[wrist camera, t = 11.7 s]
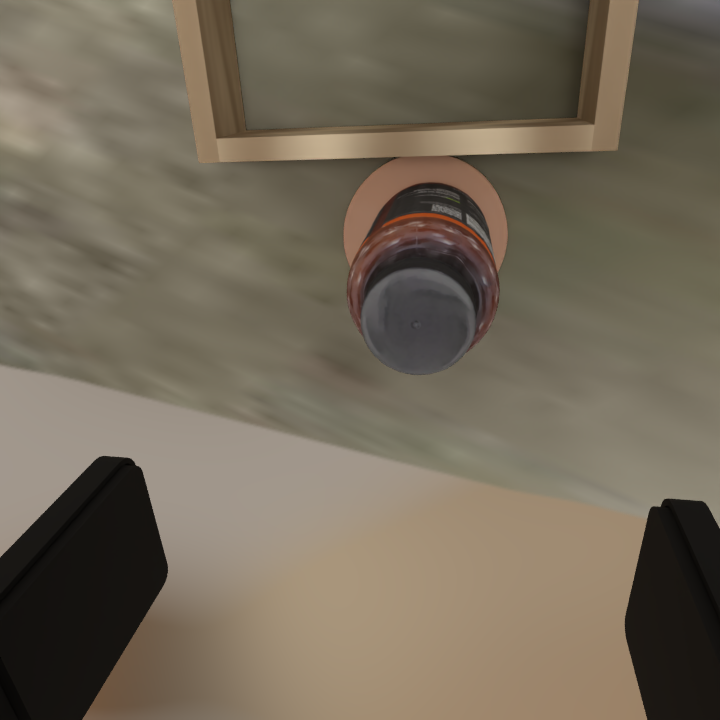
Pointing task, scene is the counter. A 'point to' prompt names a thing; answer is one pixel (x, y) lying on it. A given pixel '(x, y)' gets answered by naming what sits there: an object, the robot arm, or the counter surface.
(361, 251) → the supplement bottle
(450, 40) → the counter surface
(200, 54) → the frame
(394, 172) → the saucer
